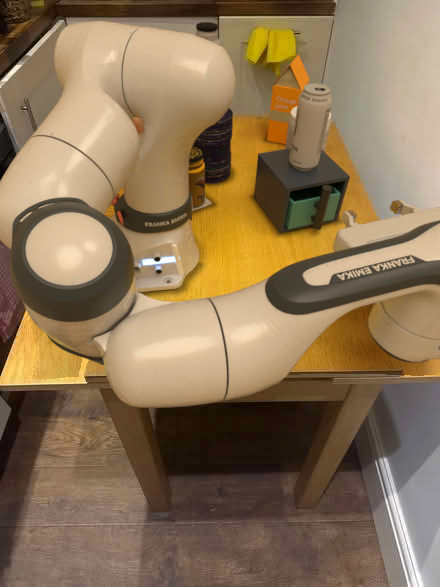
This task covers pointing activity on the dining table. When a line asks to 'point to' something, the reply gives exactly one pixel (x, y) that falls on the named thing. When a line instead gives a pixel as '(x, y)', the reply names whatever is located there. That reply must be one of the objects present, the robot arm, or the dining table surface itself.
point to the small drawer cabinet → (292, 183)
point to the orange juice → (285, 99)
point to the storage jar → (217, 149)
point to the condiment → (197, 179)
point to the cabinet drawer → (312, 206)
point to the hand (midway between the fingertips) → (370, 208)
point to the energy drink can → (310, 126)
